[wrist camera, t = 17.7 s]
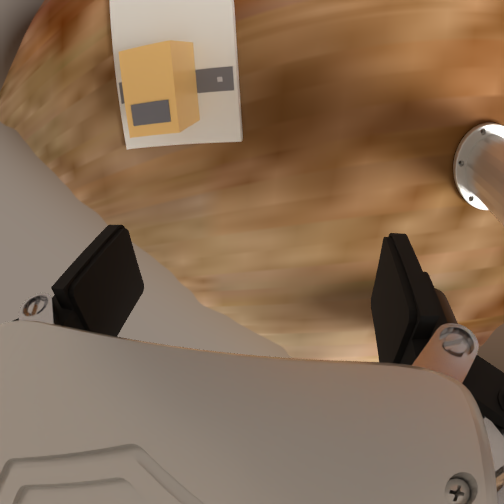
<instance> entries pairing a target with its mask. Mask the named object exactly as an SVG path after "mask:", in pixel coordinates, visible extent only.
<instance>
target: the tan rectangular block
mask: <svg viewBox="0 0 504 504" xmlns="http://www.w3.org/2000/svg"><path fill="white" fill-rule="evenodd" d="M119 61H120V71H121V79H122V87H123V95H124V102H125V109H126V116H127V122H128V129H129V135H130V138H133V137H142V136H151V135H160V134H171V133H180V132H182V131H183V130H185V129H186V128H188V127H189V126H191V125H193V124H194V123H196V122H197V121H199V120H200V115H199V105H198V94H197V84H196V72H195V61H194V48H193V42H185V41H174V40H168V41H163V42H158V43H153V44H149V45H144V46H140V47H135V48H131V49H127V50H123V51H119Z"/></svg>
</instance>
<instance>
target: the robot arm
mask: <svg viewBox="0 0 504 504" xmlns="http://www.w3.org/2000/svg"><path fill="white" fill-rule="evenodd" d="M459 161H460V163H459ZM453 174H454V180H455V184H456V187H457V189H458V191H459V193H460V194H461V196H462V197H463V198H464V199H465V200H466V201H467V202H468V203H469V204H470V205H472V206H473V207H475V208H478V209H481V210H490V212H491V213H492V214H493V215H494V216H495V217H496V218H497V219H498V220H499V222H500V223H501V224H502V225H503V226H504V126H503V125H501V124H497V123H483V124H480V125H478V126H476V127H474V128H472V129H471V130H470V131H469V132H468V133H467V134H466V135H465V136H464V137H463V139H462V140H461V142H460V144H459V145H458V148H457V151H456V153H455V158H454V163H453ZM52 290H53V292H54V294H55V295H54V296H53V298H52V297H51V295H49V294H48V293H38V294H35V295H33V296H31V297H30V298H28V299H27V300H26V301H25V302H24V303H23V304H22V306H21V307H20V311H19V318H18V319H16V320H14V321H12V322H7V323H3V324H1V325H0V504H504V373H503V372H502V371H500V370H499V369H497V368H496V367H494V366H493V365H491V364H490V363H488V362H487V361H485V360H484V359H482V358H481V357H479V356H478V355H477V352H478V348H479V346H478V341H477V339H476V337H475V335H474V334H473V333H472V332H471V331H470V330H469V329H468V328H466V327H465V326H462V325H460V324H455V323H448V322H447V320H446V317H445V314H444V311H443V309H442V306H441V304H440V301H439V299H438V296H437V294H436V291H435V289H434V286H433V284H432V281H431V279H430V277H429V275H428V273H427V272H423V271H422V269H421V266H420V264H419V262H418V259H417V257H416V255H415V252H414V250H413V248H412V246H411V243H410V241H409V239H408V237H407V235H406V234H398V233H390V234H389V237H384V239H383V243H382V249H381V254H380V259H379V264H378V269H377V274H376V279H375V284H374V288H373V293H372V297H371V309H372V315H373V321H374V328H375V334H376V341H377V348H378V355H379V362H358V361H330V360H312V359H294V358H280V357H266V356H255V355H244V354H235V353H225V352H216V351H208V350H199V349H192V348H184V347H177V346H170V345H164V344H157V343H151V342H144V341H138V340H132V339H127V338H121V337H117V335H118V334H119V332H120V330H121V328H122V327H123V325H124V323H125V322H126V320H127V318H128V316H129V315H130V313H131V311H132V310H133V308H134V306H135V305H136V303H137V301H138V300H139V298H140V296H141V295H142V293H143V290H144V283H143V280H142V277H141V273H140V270H139V267H138V263H137V260H136V256H135V253H134V250H133V246H132V242H131V238H130V235H129V231H128V230H127V229H125V227H124V226H123V225H108V226H107V227H106V228H105V229H104V230H103V231H102V232H101V233H100V234H99V235H98V236H97V237H96V238H95V240H94V241H93V242H92V243H91V244H90V245H89V246H88V247H87V248H86V249H85V250H84V251H83V252H82V253H81V255H80V256H79V257H78V258H77V259H76V260H75V261H74V262H73V263H72V265H71V266H70V267H69V268H68V269H67V270H66V271H65V273H63V275H62V276H61V277H60V278H59V279H58V280H57V282H56V283H55V284H54V285H53V286H52ZM448 480H449V481H448Z"/></svg>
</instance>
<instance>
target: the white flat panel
mask: <svg viewBox="0 0 504 504" xmlns="http://www.w3.org/2000/svg"><path fill="white" fill-rule="evenodd" d="M109 1H110V19H111V33H112V45H113V55H114V65H115V74H116V82H117V90H118V97H119V104H120V111H121V118H122V124H123V130H124V136H125V142H126V148H127V149H134V148H144V147H155V146H167V145H181V144H197V143H218V142H241V141H242V140H243V133H242V117H241V102H240V87H239V71H238V56H237V40H236V25H235V9H234V0H109ZM168 40H174V41H185V42H193V48H194V61H195V72H196V84H197V94H198V105H199V115H200V120H199V121H197V122H196V123H194V124H193V125H191V126H189V127H188V128H186V129H185V130H183V131H182V132H180V133H171V134H160V135H151V136H142V137H133V138H130V135H129V129H128V122H127V116H126V109H125V102H124V95H123V87H122V79H121V71H120V61H119V51H123V50H127V49H131V48H135V47H140V46H144V45H149V44H153V43H158V42H163V41H168Z"/></svg>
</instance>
